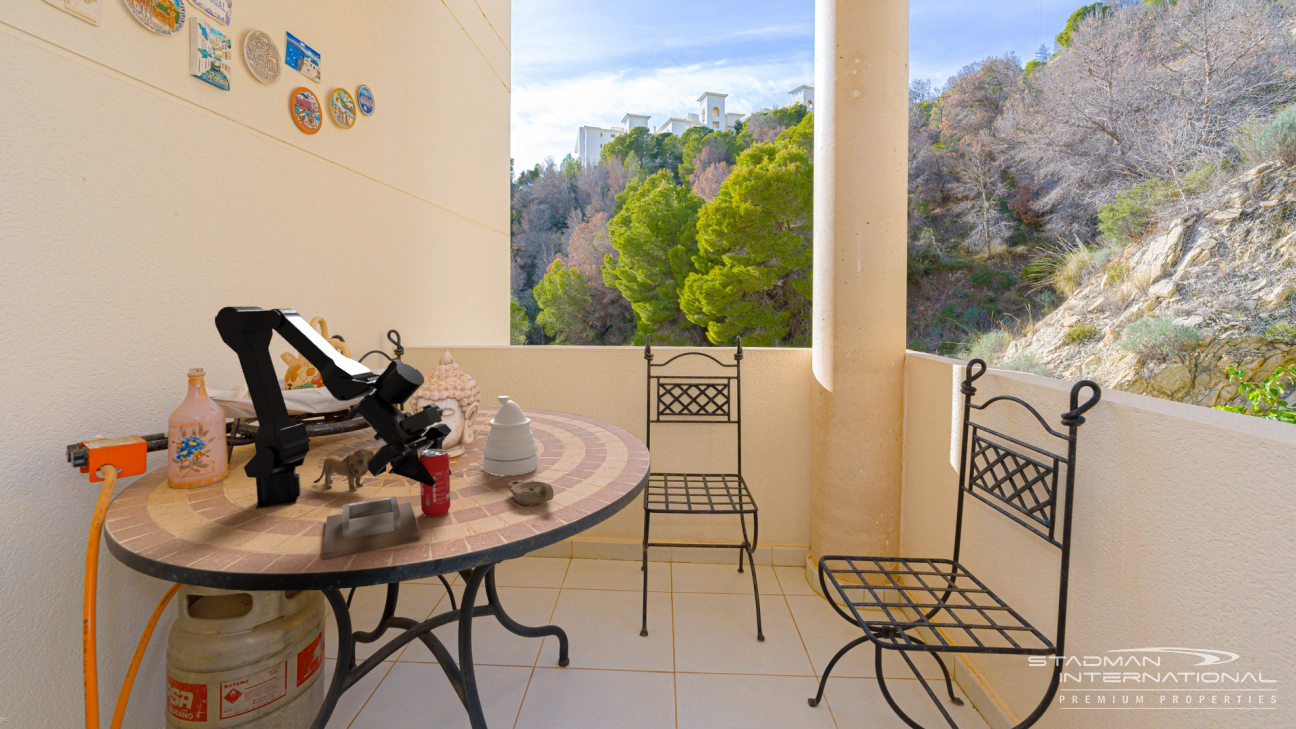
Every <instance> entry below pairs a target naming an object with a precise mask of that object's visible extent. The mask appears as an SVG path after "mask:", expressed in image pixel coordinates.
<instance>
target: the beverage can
mask: <svg viewBox="0 0 1296 729" xmlns="http://www.w3.org/2000/svg"><path fill="white" fill-rule="evenodd" d="M419 453H420V452H419ZM449 456H450V455H449V453H448V450H447V449H445V448H442V449H429V450H425V451H423V452H421V453H420V456H418V458H419V460H420V462H421V463H422V464H423V465H424V467H425V468H426V469H427V471H428V472H429V473H430V475H431V476H432V477H433V479H434V480H435V482H436V483H435V484H434V485H433V486H429V485H426V484H423V483H421V482H419V484H420V487H419V488H420V507H421V511H422V513H423V516H425V517H427V518H438V517H443V516H444V515H448V513H449V510H450V508H451V487H450V486H451V485H450V484H451V482H450V481H451V480H450V476H449V468H450V457H449Z"/></svg>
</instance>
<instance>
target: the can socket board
mask: <svg viewBox="0 0 1296 729" xmlns="http://www.w3.org/2000/svg"><path fill="white" fill-rule="evenodd" d="M324 530H325V531H324V538H323V539H324V540H323V548H322V560H328V559H333V558H338V557H342V556H343V557H344V556H347V555H353V554H356V553H357V554H358V553H362V552H367V551H372V550H379V549H382V548H386V547H387V548H389V547H392V546H398V545H403V544H409V543H412V542H418V541H421V534H420V530H419V527H418V523H417V520H416V515H415V513H414V509H413V505H412V502H407V503H401V504H399V503H398V499H397V496H391V497H385V498H379V499H372V500H365V501H360V502H352V503H347V504H342V512H341V513H340V514H334V515H332V514H331V515H327V516H326V521H325V529H324Z"/></svg>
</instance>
